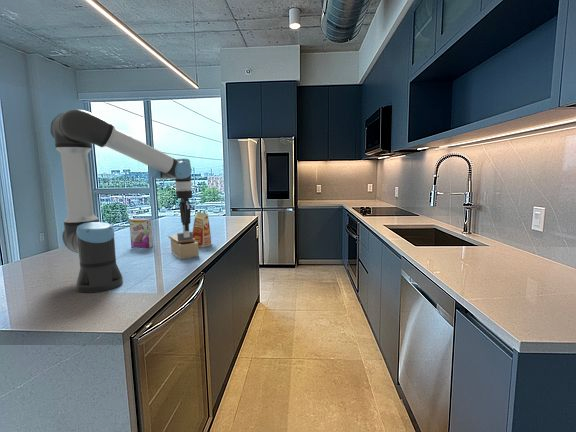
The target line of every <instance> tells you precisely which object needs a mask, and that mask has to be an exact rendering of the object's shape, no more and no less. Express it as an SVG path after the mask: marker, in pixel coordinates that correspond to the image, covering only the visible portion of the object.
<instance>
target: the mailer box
mask: <svg viewBox="0 0 576 432" xmlns="http://www.w3.org/2000/svg"><path fill="white" fill-rule="evenodd" d="M170 251H171V253H172V254H173V255H174V256H175V257H177V258H179V259H180V260H185V259H193V258H197V257H198V258H199V256H200V255H199V254H200V253H199V247H198V243H197V242H195V241H191V242H183V243H176V242H175V241H173V240H172V239H170Z"/></svg>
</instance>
